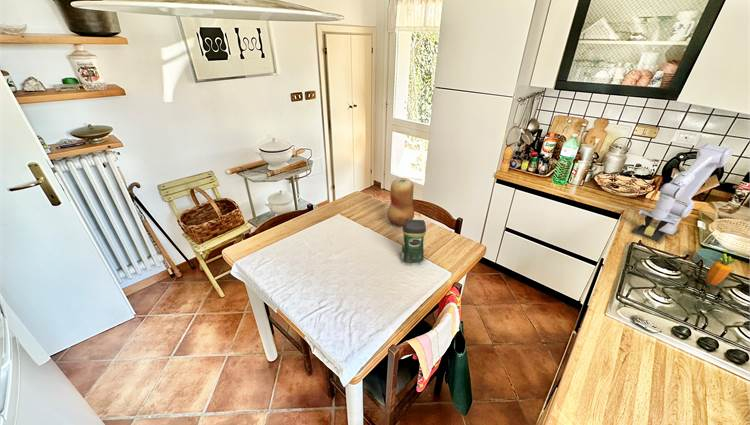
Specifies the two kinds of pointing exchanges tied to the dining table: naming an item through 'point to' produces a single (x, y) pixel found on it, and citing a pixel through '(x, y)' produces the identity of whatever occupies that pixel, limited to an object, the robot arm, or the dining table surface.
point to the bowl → (707, 256)
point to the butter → (650, 229)
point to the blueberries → (643, 320)
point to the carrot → (719, 270)
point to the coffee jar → (413, 241)
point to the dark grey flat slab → (655, 237)
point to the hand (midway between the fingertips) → (650, 231)
